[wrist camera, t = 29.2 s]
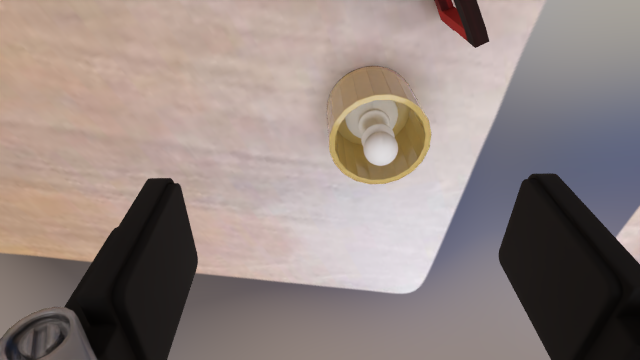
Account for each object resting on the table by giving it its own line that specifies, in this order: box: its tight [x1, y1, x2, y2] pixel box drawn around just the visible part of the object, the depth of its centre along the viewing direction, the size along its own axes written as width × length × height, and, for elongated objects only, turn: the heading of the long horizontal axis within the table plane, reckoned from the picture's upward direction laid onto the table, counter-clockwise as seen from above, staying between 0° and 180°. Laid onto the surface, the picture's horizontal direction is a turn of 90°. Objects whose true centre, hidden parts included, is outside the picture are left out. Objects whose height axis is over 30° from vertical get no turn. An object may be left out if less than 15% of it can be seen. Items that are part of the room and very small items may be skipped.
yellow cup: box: [327, 66, 431, 184], centre depth 37 cm, size 9×9×7 cm
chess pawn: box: [345, 100, 398, 166], centre depth 36 cm, size 5×5×9 cm
